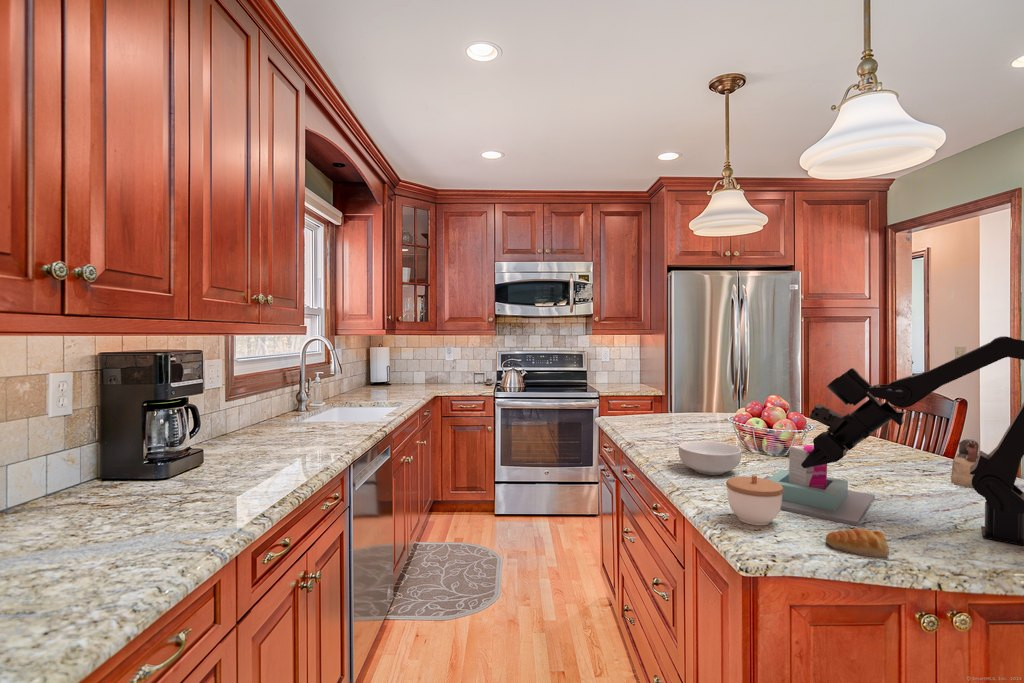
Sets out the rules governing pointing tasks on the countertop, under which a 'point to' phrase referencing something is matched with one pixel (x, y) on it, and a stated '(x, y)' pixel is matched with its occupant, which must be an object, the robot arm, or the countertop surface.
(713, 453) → the cereal bowl
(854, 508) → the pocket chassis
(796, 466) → the supplement box
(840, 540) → the pastry
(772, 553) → the countertop surface
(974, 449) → the figurine
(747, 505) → the lidded jar
